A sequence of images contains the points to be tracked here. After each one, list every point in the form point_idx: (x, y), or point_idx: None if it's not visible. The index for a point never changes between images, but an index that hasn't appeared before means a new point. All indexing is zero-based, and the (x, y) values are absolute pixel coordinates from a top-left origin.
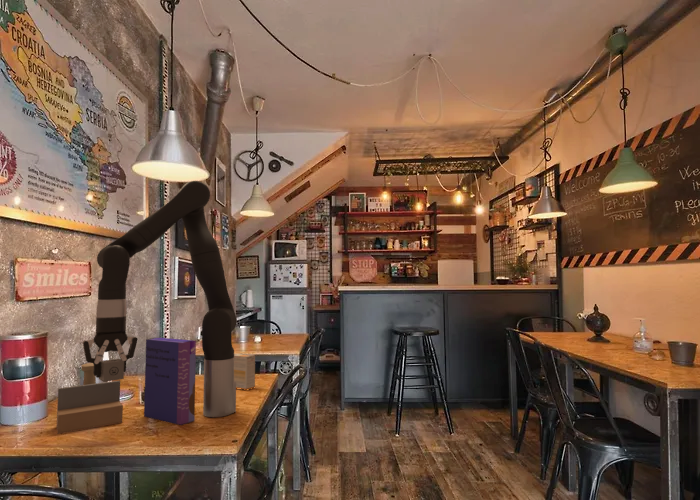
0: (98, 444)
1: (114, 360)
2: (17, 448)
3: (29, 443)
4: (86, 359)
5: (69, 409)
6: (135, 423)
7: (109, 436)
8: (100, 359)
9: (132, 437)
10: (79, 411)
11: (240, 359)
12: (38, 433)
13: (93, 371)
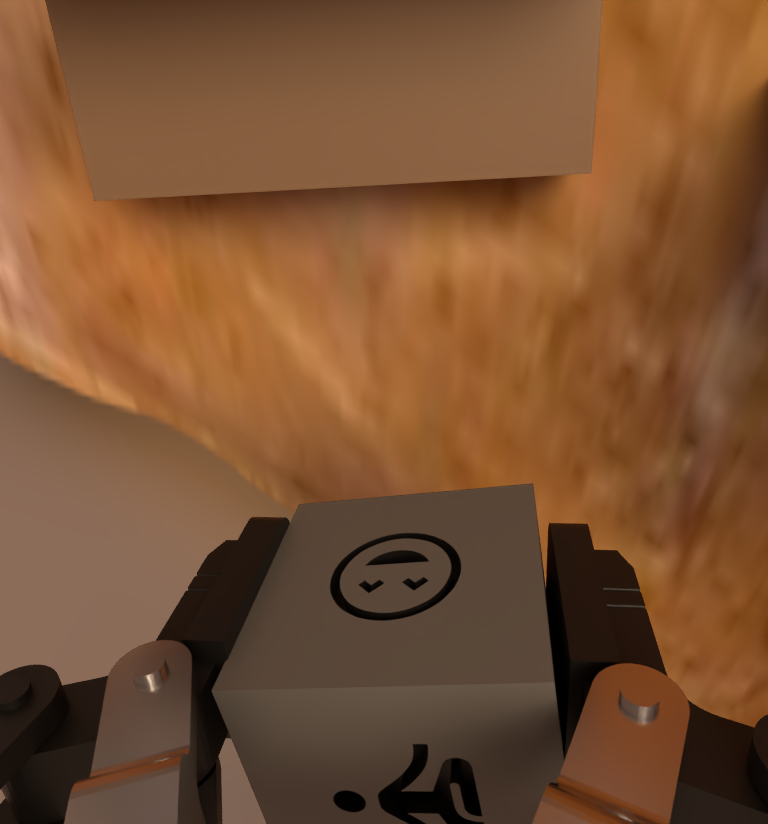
0: None
1: (452, 793)
2: (17, 339)
3: (49, 286)
4: (5, 804)
5: (141, 29)
6: (647, 248)
7: (448, 428)
8: (221, 815)
9: (555, 518)
10: (234, 171)
11: None
12: (37, 84)
13: (199, 582)
